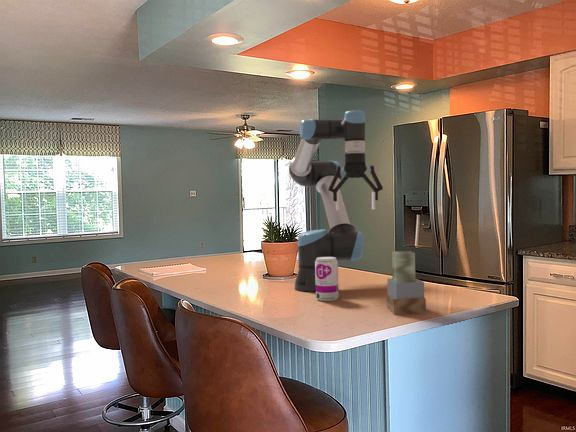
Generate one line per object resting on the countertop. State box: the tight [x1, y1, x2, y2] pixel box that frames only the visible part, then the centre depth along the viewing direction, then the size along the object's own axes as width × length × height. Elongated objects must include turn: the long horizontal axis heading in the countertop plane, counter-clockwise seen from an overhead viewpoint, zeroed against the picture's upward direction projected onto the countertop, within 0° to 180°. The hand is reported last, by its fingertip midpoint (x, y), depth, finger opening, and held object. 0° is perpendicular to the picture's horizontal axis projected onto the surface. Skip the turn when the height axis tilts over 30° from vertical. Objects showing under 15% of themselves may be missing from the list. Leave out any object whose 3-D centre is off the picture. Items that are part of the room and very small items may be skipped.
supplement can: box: [315, 257, 339, 302], centre depth 187 cm, size 8×8×15 cm
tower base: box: [386, 292, 427, 316], centre depth 167 cm, size 10×10×5 cm
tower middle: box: [386, 277, 425, 299], centre depth 167 cm, size 9×9×5 cm
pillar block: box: [391, 250, 416, 282], centre depth 166 cm, size 6×6×9 cm
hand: (355, 209), depth 195 cm, fingers open, 13 cm apart
